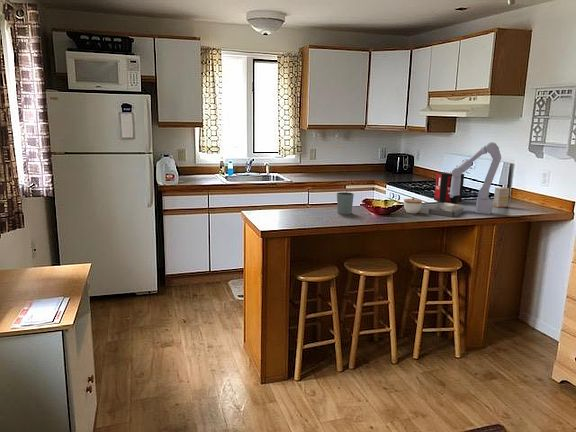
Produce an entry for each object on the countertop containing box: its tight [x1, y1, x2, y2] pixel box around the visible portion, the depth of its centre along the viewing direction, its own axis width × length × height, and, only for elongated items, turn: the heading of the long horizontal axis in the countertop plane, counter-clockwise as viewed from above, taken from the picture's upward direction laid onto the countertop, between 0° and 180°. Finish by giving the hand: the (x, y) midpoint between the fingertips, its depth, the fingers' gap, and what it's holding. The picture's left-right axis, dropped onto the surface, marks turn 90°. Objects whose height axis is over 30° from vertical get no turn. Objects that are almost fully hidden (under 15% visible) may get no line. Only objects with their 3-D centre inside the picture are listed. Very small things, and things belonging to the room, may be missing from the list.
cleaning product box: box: [433, 171, 465, 203], centre depth 342 cm, size 16×9×20 cm, turn 98°
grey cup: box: [336, 191, 354, 215], centre depth 288 cm, size 10×10×12 cm
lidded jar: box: [403, 197, 423, 214], centre depth 297 cm, size 11×11×9 cm
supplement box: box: [492, 186, 510, 208], centre depth 326 cm, size 8×5×13 cm, turn 108°
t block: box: [442, 202, 462, 212], centre depth 306 cm, size 10×10×4 cm
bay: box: [428, 204, 464, 218], centre depth 299 cm, size 15×20×3 cm
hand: (453, 207), depth 312 cm, fingers closed
